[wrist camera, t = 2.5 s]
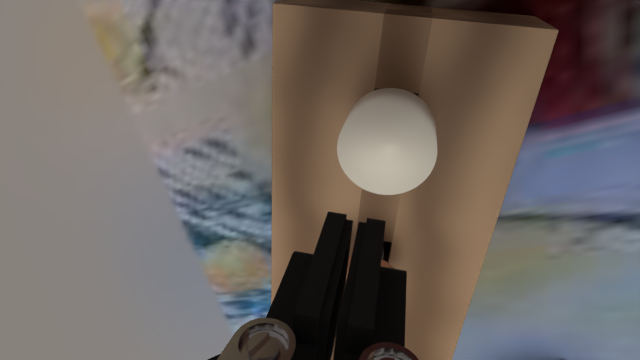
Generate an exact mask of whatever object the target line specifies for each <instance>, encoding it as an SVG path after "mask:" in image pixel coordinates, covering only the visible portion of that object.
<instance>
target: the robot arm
mask: <svg viewBox="0 0 640 360" xmlns="http://www.w3.org/2000/svg"><path fill="white" fill-rule="evenodd" d="M385 224H386V221H384V220H378V219H372V218H367V221H366V223H365V222H359V224H358V228H357V233H356V238H355V242H354V247H353V252H352V256H351V261H350V266H349V271H348V275H347V269H348V261H349V252H350V244H351V236H352V228H353V220H347V214H341V213H335V212H328V213H327V216H326V219H325V222H324V225H323V228H322V231H321V233H320V236H319V239H318V242H317V245H316V248H315V251H314V254H309V253H304V252H298V251H294V252H293V254H292V256H291V258H290V261H289V263H288V266H287V268H286V271H285V273H284V275H283V278H282V280H281V283H280V285H279V288H278V290H277V292H276V295H275V297H274V300H273V302H272V305H271V307H270V309H269V312H268V314H267V317H266V318H258V319H255V320H251V321H249V322H247V323H246V324H244V325H242V326H241V327H240V328H239V329H238V330H237V331H236V332H235V334H234V335H233V337H232V338H231V340H230V341H229V343H228V344H227V346H226V347H225V348H224V350H223V351H222V353H221V354H219V355H217V356H215V357H212V358H211V359H208V360H331V357H332V352H333V347H334V342H335V349H334V357H333V360H419V359H418V358H417V357H416V355H415V354H413V353H412V352H411V351H410V350H408V349H407V348H405V319H406V284H407V272H406V271H405V270H399V269H393V268H388V267H382V266H381V259H382V250H383V241H384V233H385ZM346 277H347V280H346ZM335 338H336V340H335Z"/></svg>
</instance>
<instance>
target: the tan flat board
mask: <svg viewBox="0 0 640 360" xmlns="http://www.w3.org/2000/svg"><path fill="white" fill-rule="evenodd" d="M558 31H559V30H558V29H556V28H554V27H553V26H551V25H549V24H547V23H546V22H544V21H542V20H540V19H539V18H537V17H535V16H528V15H517V14H505V13H494V12H483V11H472V10H461V9H449V8H438V7H427V6H416V5H405V4H393V3H382V2H371V1H360V0H281V1H278V2H275V3H273V80H272V294H271V305H272V302H273V300H274V297H275V295H276V292H277V290H278V288H279V285H280V283H281V280H282V278H283V275H284V273H285V271H286V268H287V266H288V263H289V261H290V258H291V256H292V254H293V252H294V251H298V252H304V253H309V254H314V251H315V248H316V245H317V242H318V239H319V236H320V233H321V231H322V228H323V225H324V222H325V219H326V216H327V213H328V212H335V213H341V214H347V220H353V228H352V236H351V244H350V252H349V257H351V256H352V252H353V247H354V242H355V238H356V233H357V228H358V224H359V222H365V223H366V221H367V218H372V219H378V220H384V221H386V224H385V233H384V243H385V249H384V256H383V260H384V261H386V262H388V263H389V264H391V265H392V266H393V267H394V268H395V269H399V270H405V271H406V272H407V284H406V319H405V348H407V349H408V350H410V351H411V352H412V353H413V354H415V355H416V357H417V358H418V359H419V360H452V357H453V354H454V351H455V348H456V345H457V342H458V339H459V336H460V333H461V329H462V326H463V323H464V320H465V317H466V314H467V311H468V308H469V305H470V302H471V299H472V296H473V293H474V289H475V286H476V283H477V280H478V277H479V274H480V271H481V268H482V265H483V262H484V259H485V256H486V253H487V249H488V246H489V243H490V240H491V237H492V234H493V231H494V228H495V225H496V222H497V219H498V216H499V213H500V209H501V206H502V203H503V200H504V197H505V194H506V191H507V188H508V185H509V182H510V179H511V176H512V173H513V169H514V166H515V163H516V160H517V157H518V154H519V151H520V148H521V145H522V142H523V139H524V136H525V133H526V129H527V126H528V123H529V120H530V117H531V114H532V111H533V108H534V105H535V102H536V99H537V96H538V93H539V89H540V86H541V83H542V80H543V77H544V74H545V71H546V68H547V65H548V62H549V59H550V56H551V53H552V49H553V46H554V43H555V40H556V37H557V34H558ZM383 88H398V89H403V90H406V91H409V92H411V93H416V96H418V97H419V98H420V99H422V100H423V101H424V102H425V103H426V104H427V106H428V107H429V109H430V110H431V112H432V114H433V116H434V120H435V124H436V136H437V159H436V162H435V166H434V168H433V170H432V172H431V173H430V175H429V176H428V177H427V178H426V180H425V181H424V182H422V183H421V184H420V185H419V186H417V187H416V188H414V189H412V190H410V191H407V192H405V193H401V194H395V195H381V194H376V193H372V192H369V191H366V190H364V189H362V188H361V187H359V186H357V185H356V184H355V183H353V182H352V181H351V180H350V179H349V178H348V177H347V175H346V174H345V173H344V171H343V169H342V168H341V165H340V163H339V160H338V155H337V142H338V137H339V134H340V132H341V130H342V127H343V125H344V123H345V121H346V119H347V117H348V115H349V112H350V110H351V109H352V107H353V106H354V105H355V103H356V102H357V101H358V100H359V99H361V98H362V97H363V96H365V95H366V94H368V93H370V92H372V91H375V90H378V89H383ZM335 340H336V338H335ZM334 349H335V342H334V347H333V352H332V357H331V360H333V357H334Z"/></svg>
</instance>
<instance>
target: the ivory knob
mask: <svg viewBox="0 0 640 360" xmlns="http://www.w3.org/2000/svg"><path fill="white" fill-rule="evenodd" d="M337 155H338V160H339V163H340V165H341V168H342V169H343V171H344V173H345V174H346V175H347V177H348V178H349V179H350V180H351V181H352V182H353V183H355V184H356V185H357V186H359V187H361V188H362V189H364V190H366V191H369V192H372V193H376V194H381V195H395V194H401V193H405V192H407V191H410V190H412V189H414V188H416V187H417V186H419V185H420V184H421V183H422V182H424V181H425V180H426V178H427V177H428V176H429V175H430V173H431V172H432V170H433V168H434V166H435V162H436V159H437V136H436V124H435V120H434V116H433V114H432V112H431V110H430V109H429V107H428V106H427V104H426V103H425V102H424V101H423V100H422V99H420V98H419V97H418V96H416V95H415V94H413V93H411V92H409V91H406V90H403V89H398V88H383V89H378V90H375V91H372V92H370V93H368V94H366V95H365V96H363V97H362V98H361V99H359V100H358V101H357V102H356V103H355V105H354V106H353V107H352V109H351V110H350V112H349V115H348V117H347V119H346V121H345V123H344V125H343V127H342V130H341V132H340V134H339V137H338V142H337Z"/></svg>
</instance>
